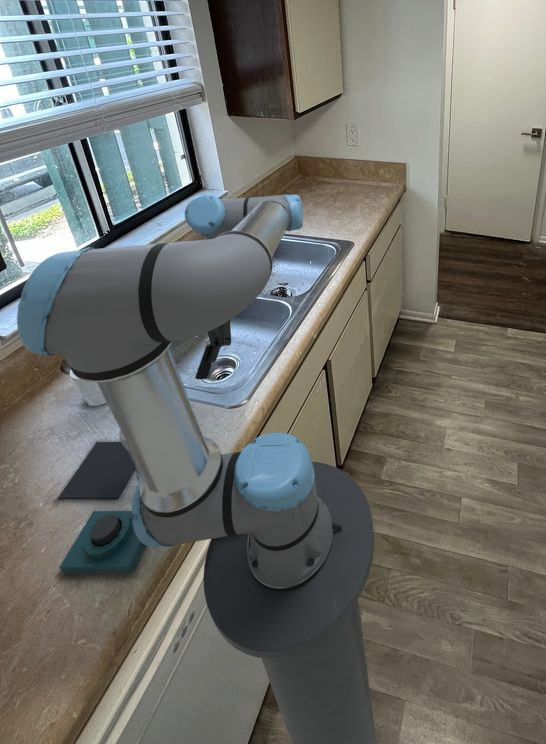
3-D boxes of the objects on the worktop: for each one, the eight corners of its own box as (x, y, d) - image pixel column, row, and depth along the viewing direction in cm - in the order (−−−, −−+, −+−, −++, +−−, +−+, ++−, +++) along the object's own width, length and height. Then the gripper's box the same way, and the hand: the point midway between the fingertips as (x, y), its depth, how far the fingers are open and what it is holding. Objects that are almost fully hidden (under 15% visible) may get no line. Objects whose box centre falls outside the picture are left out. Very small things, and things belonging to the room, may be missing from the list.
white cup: (75, 407, 106) (61, 377, 102) (100, 381, 113) (87, 352, 109) (105, 410, 105) (91, 380, 101) (127, 383, 112) (116, 354, 108)
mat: (150, 442, 97) (150, 441, 97) (118, 498, 86) (117, 497, 86) (97, 443, 97) (96, 441, 97) (58, 499, 86) (57, 497, 86)
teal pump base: (159, 517, 83) (153, 504, 81) (132, 573, 75) (125, 561, 73) (97, 517, 83) (90, 505, 81) (63, 574, 75) (55, 561, 73)
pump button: (125, 520, 79) (122, 514, 78) (112, 545, 76) (108, 539, 75) (103, 521, 79) (100, 514, 78) (89, 546, 76) (85, 539, 75)
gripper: (267, 284, 96) (235, 385, 90) (179, 264, 103) (143, 356, 97) (248, 277, 89) (211, 386, 83) (154, 256, 97) (115, 355, 91)
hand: (174, 370), depth 90 cm, fingers open, 13 cm apart
